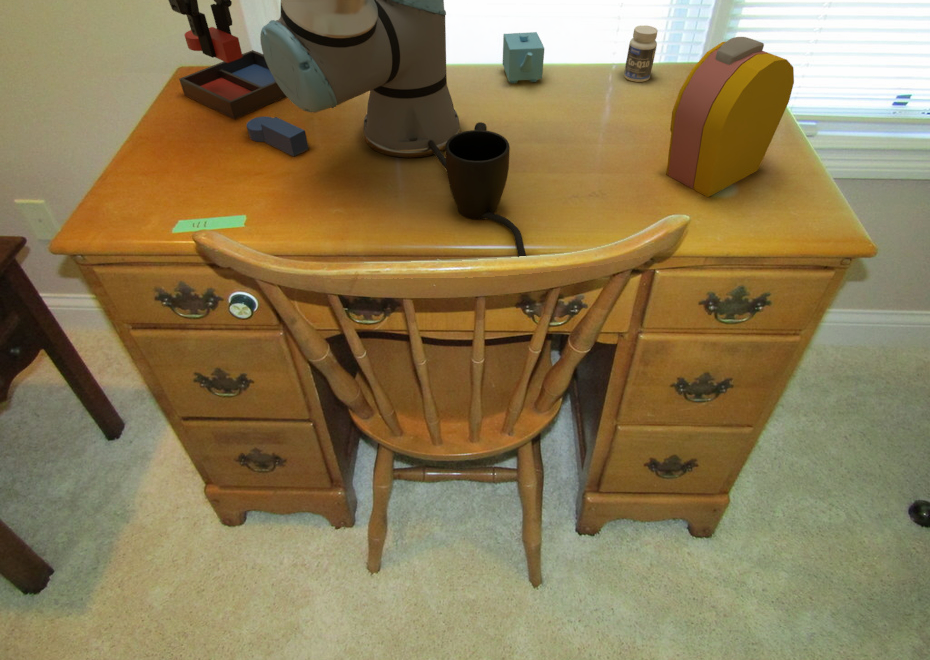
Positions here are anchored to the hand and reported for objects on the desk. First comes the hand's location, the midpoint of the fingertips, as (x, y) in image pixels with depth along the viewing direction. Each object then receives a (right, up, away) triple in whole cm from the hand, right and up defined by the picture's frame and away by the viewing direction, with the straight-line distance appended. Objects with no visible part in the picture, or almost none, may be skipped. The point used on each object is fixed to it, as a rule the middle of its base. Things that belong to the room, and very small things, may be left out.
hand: (219, 50), depth 104 cm
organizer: (+1, -3, +9) cm, 10 cm away
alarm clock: (+77, -23, -11) cm, 81 cm away
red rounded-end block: (-1, +1, +1) cm, 2 cm away
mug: (+43, -28, -16) cm, 53 cm away
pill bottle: (+72, 0, +11) cm, 73 cm away
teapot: (+51, 0, +11) cm, 52 cm away
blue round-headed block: (+11, -16, -4) cm, 20 cm away
